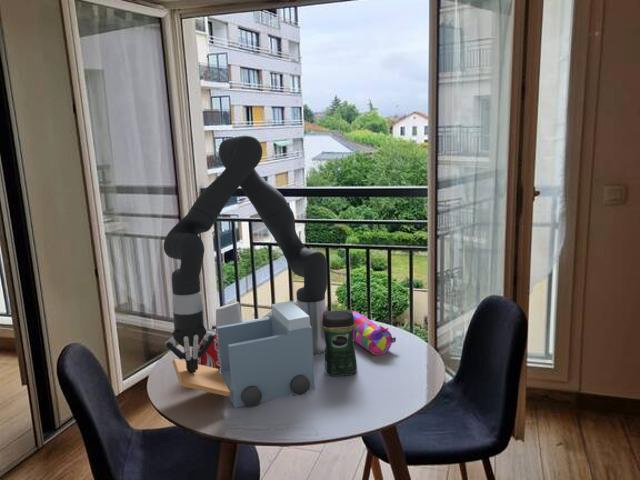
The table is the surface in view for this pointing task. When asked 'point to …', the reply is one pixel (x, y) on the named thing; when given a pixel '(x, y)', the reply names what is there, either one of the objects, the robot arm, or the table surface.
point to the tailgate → (201, 378)
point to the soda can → (210, 353)
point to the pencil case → (371, 335)
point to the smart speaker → (228, 315)
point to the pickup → (267, 356)
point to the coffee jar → (339, 342)
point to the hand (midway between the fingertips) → (192, 371)
